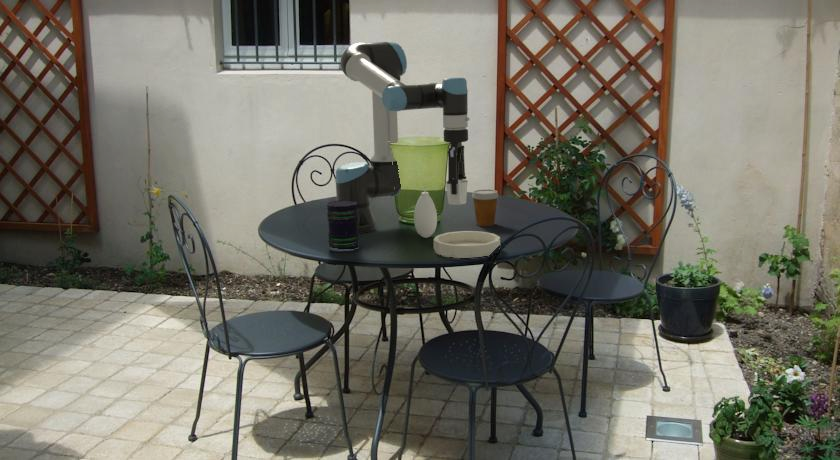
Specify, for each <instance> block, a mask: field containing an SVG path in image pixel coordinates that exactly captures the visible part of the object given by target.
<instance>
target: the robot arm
mask: <svg viewBox="0 0 840 460" xmlns="http://www.w3.org/2000/svg"><path fill="white" fill-rule="evenodd" d="M407 64H408V63H407V57H406V53H405V51H404V49H403V48H402V46H401V45H400V44H399V43H397V42H393V41H390V42H389V41H383V42H382V41H380V42H379V41H378V42H357V43H354V44H352V45H349V46H348V47H346V49H345V50H344V51H343V53H342V54H341V57H340V68H341V71H342V72H343V74H344V75H345V77H347V78H348V79H350V80H351V81H353V82H360V84H362V85H363V86H365V87H366V88H367V89H369V90H371V93H372V94H371V95H372V97H371V98H372V99H371V100H372V121H373V122H372V123H373V125H372V126H373V145H374V147H373V148H374V149H373V156H371V158H370V165H369V163H368V162H366V161H357V162H350V163H349V162H348V163H345V164H343V165H340V166H338V167H337V169H335V180H334V182H335V189H336V190H335V194H336V201H355V202H357V210H358V214H357V215H358V220H357V229H358V232H359V234H364V233H369V232H372V231H375V230H376V226H377V225H376V224H377V223H376V220H375V218H374V214H373V212H372V209H371V203H370V202H371V200H370V199H374V198H375V199H376V198H381V197H394V196H397V194H398V195H400V194H399V192H400V190H401V184H400V178H399V174H398V173H399V172H398V170H399V169H398V165H397V161H396V160H395V158H393V153H392V154H391V150H392V148H390V143H397V142H398V143H399V131H398V129H399V128H398V126H399V125H398V112H401V111H412V110H426V109H442V123H443V124H442V125H443V126H442V127H443V128H444V129H443V141H444V142H445V143H450V146H449V147H448V151H447V157H448V158H447V159H448V166H447V168H448V169H447V170H448V171H447V174H448V179H447V181H448V182H447V184H450V204H449V205H452V206H453V205H454V206H457V205H458V206H459V205H461V204H460V203H459V183H458V179H460V180H467V176H466V169H465V168H466V167H465V145H463V144H462V143H465V142H467V141H469V130H468V129H467V128H468V125H469V124H468V123H469V122H468V121H470V117H468V113H469V112H468V110H469V109H468V83H467V79H466V77H444V78H443V79H442V83H437V82H430V83H426V84H425V83H424V84H423V83H422V84H409V85H408V84H407V85H406V84H404V83H403V82H401V76H404V74H405V73H406V72H407V70H406V69H407V67H408V65H407ZM388 141H390V142H388ZM387 142H388V143H387ZM392 161H393V165H392ZM394 187H395V190H394Z"/></svg>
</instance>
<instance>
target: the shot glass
mask: <svg viewBox="0 0 840 460" xmlns="http://www.w3.org/2000/svg"><path fill="white" fill-rule="evenodd" d="M468 181H469V180H467V179H462V180H460V179H458V183H459V203H460V204H459V205H465V204H467V196H468ZM447 182H448V180H446V181H445V186H446V187H445V188H446V195H447V196H446V197H447V203H448V205H450V184H447Z"/></svg>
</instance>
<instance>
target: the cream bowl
mask: <svg viewBox="0 0 840 460" xmlns="http://www.w3.org/2000/svg"><path fill="white" fill-rule="evenodd" d="M432 243H433V249H434V253H435V254H436V255H438V256H440V255H441V257H443V258H444V257H445V258H449V257H453V258H452V259H460V258H471V257H482V256H488V257H490V256H489V255H490V254H491V253H492V252H493V251H494V250H495V249H496V248H497V247H498V246H499V245H500V246H501V237H500V236H499V235H497V234H496V233H493V232H492V233H491V232H488V231H480V230H479V231H477V230H476V231H475V230H460V231H459V230H458V231H450V232H445V233H441V234H437V235H436V236H435V237H434V238H433V242H432ZM482 258H483V257H482ZM471 259H472V258H471Z"/></svg>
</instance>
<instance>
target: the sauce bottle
mask: <svg viewBox="0 0 840 460" xmlns="http://www.w3.org/2000/svg"><path fill="white" fill-rule="evenodd" d="M423 187H424V188H423V192H421V193H420V196H419V198H418V199H417V201H416V204H415V207H414V213H413V222H414V227H415V230H416V232H417V234H418V235H420V236H421V237H422V238H425V239H427V238H429V237H431V236H432V235H433V234H435V231H436V230H437V225H438V214H437V209H436V208H437V207H436V206H435V203H434V201H433V198H432V197H431V195H430V193H429V192H428V191H426V184H424V185H423Z"/></svg>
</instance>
